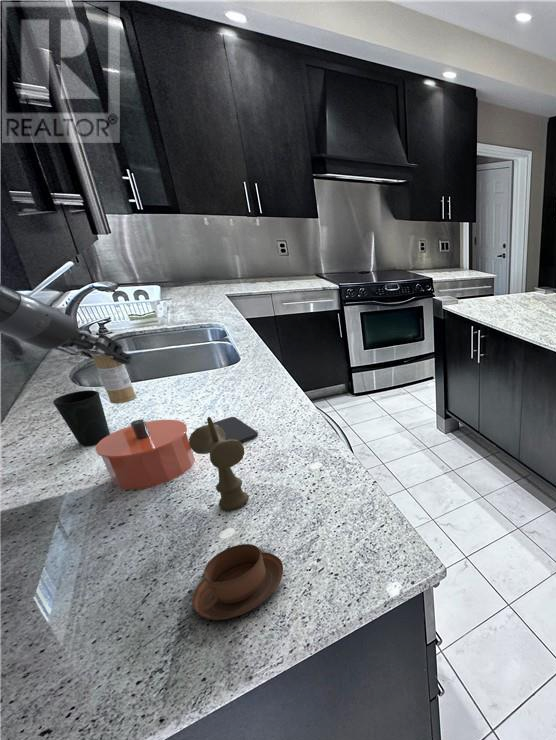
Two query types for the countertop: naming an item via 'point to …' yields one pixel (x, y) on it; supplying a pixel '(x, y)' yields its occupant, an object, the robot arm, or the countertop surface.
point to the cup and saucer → (236, 582)
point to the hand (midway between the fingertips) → (117, 359)
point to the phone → (236, 429)
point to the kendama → (221, 462)
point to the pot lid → (141, 438)
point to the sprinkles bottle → (114, 379)
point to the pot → (151, 466)
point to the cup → (84, 416)
